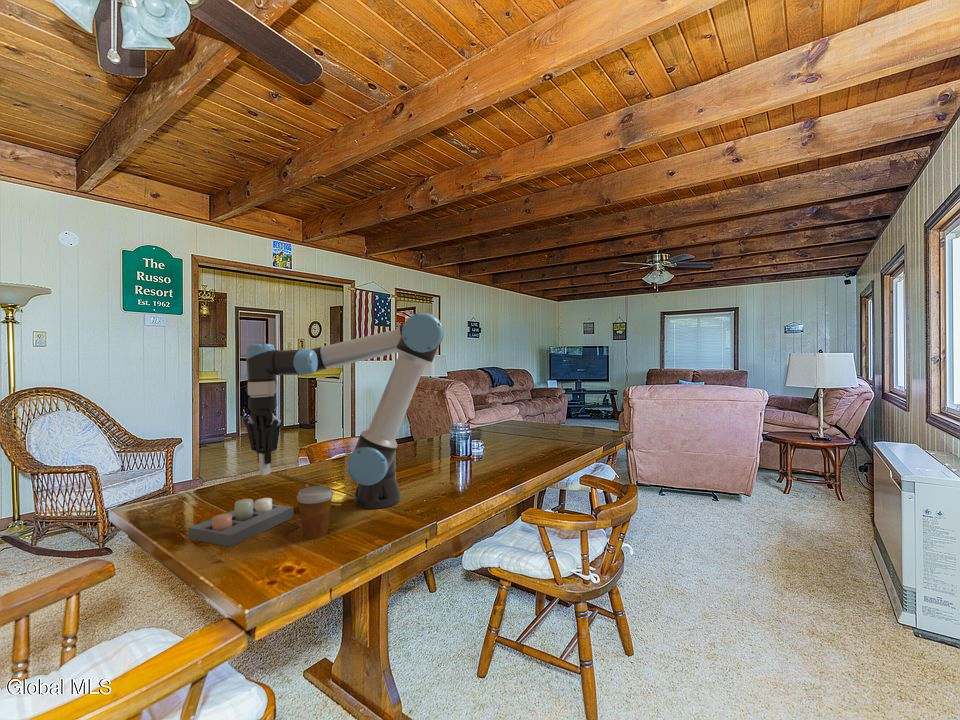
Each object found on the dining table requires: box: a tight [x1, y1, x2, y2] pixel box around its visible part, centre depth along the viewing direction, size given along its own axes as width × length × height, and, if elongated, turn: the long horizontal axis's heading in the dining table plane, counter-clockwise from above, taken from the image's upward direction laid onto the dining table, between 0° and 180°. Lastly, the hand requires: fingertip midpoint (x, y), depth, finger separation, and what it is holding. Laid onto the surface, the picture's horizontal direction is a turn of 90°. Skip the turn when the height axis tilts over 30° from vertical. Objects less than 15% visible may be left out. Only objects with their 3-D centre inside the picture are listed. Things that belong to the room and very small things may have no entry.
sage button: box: [234, 498, 254, 522], centre depth 127 cm, size 5×5×5 cm
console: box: [187, 501, 294, 548], centre depth 127 cm, size 15×22×3 cm
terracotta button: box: [211, 513, 232, 531], centre depth 121 cm, size 5×5×5 cm
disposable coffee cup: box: [296, 485, 335, 540], centre depth 122 cm, size 10×10×12 cm
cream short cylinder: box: [254, 497, 273, 513], centre depth 134 cm, size 5×5×5 cm
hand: (265, 474), depth 134 cm, fingers closed
